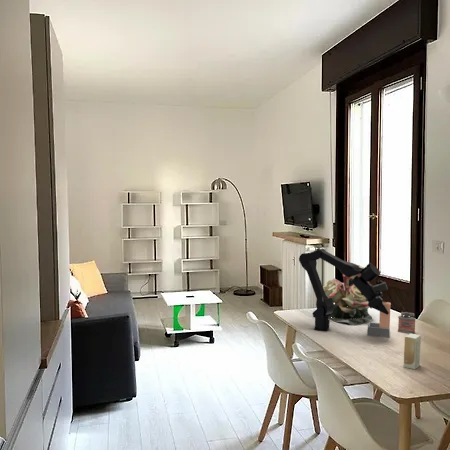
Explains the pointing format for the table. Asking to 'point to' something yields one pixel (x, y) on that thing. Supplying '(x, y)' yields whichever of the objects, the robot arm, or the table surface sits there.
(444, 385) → the table surface
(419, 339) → the skincare box
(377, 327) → the well
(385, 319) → the terracotta block
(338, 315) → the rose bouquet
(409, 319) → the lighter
